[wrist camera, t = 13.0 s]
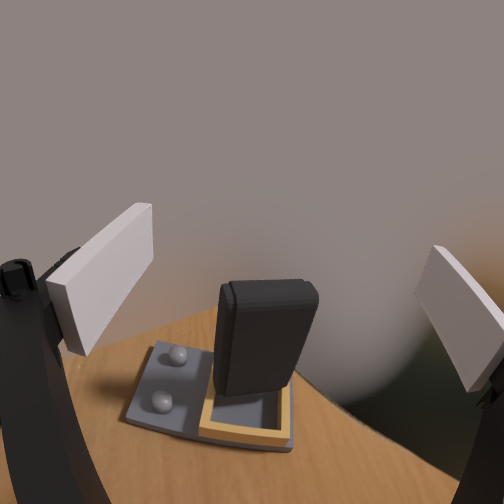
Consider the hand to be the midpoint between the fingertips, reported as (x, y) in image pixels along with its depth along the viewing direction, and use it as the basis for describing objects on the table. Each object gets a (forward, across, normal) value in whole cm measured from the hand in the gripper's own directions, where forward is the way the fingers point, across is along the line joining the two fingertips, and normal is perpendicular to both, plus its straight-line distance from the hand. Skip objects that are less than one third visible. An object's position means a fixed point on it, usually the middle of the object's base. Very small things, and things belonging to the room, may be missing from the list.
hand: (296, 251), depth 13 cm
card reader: (+12, 0, -25) cm, 27 cm away
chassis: (+11, -4, -28) cm, 31 cm away
